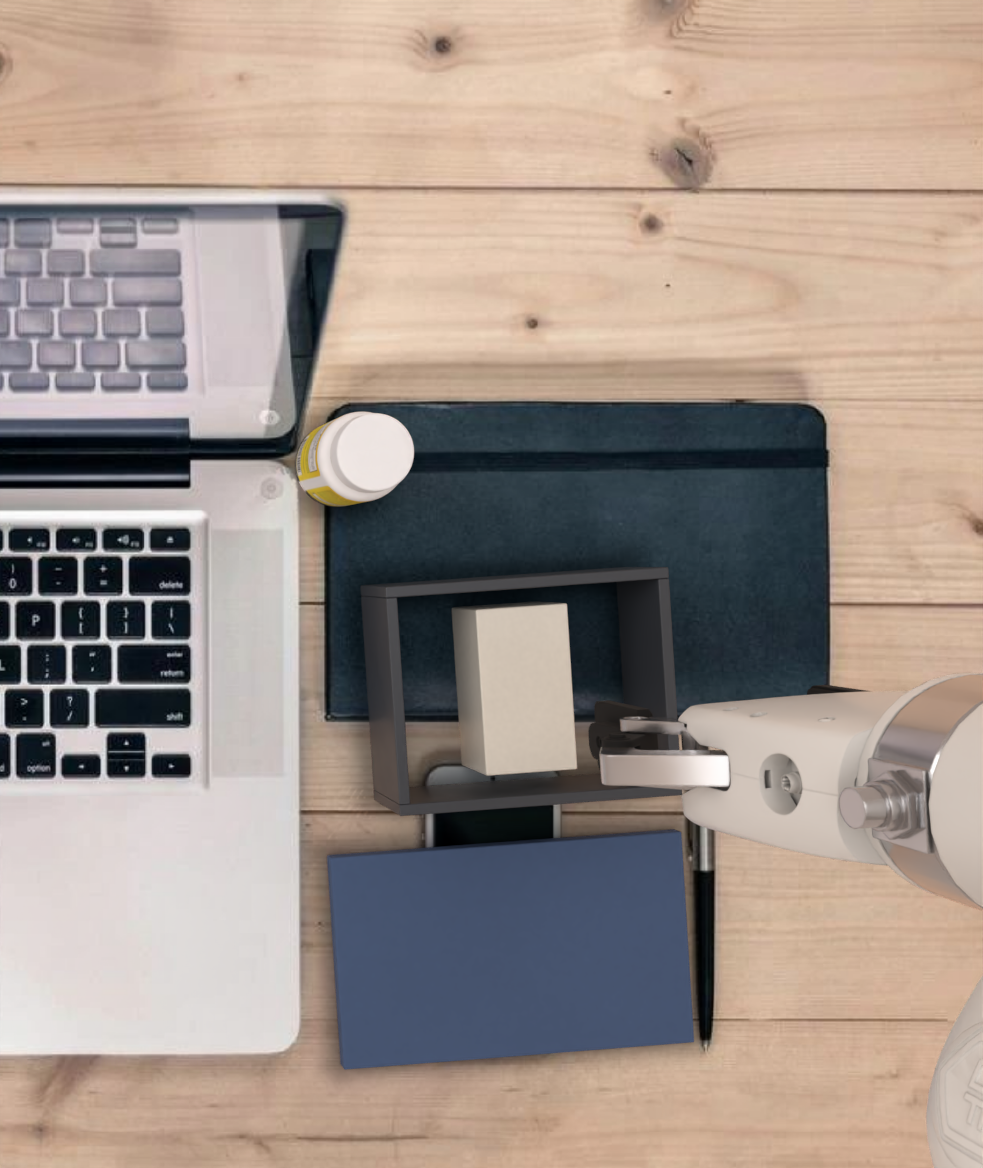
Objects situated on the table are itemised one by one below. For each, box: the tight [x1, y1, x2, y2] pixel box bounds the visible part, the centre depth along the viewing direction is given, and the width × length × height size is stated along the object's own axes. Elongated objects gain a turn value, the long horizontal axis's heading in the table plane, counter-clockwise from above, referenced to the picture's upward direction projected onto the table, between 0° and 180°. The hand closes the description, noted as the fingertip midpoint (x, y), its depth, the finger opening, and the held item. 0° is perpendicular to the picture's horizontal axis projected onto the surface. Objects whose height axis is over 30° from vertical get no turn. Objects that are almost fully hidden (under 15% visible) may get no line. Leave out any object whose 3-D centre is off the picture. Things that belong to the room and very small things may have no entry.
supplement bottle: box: [294, 411, 415, 508], centre depth 71 cm, size 5×5×8 cm
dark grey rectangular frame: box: [359, 566, 683, 817], centre depth 73 cm, size 12×15×6 cm
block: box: [451, 600, 578, 777], centre depth 73 cm, size 9×5×4 cm, turn 4°
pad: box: [326, 828, 695, 1071], centre depth 75 cm, size 12×20×2 cm, turn 94°
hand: (709, 727), depth 59 cm, fingers open, 9 cm apart
